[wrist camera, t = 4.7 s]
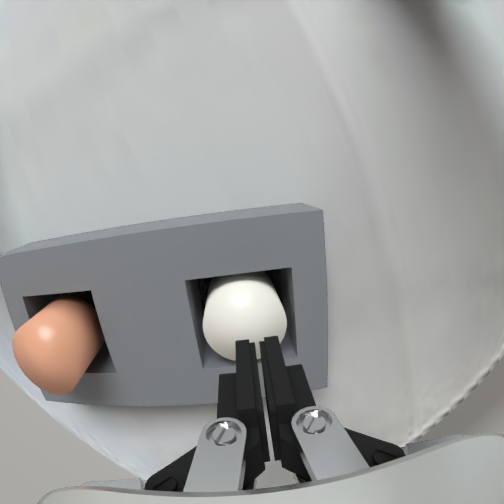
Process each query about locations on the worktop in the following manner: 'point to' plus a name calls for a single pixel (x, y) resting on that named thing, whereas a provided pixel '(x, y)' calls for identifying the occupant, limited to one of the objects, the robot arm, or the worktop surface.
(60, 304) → the terracotta button
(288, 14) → the worktop surface
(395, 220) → the worktop surface
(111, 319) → the grey two-hole block
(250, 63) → the worktop surface
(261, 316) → the ivory button
